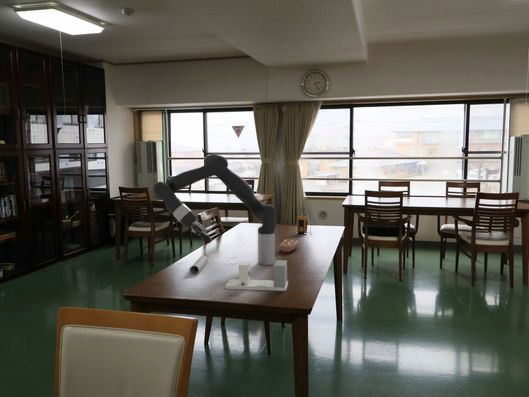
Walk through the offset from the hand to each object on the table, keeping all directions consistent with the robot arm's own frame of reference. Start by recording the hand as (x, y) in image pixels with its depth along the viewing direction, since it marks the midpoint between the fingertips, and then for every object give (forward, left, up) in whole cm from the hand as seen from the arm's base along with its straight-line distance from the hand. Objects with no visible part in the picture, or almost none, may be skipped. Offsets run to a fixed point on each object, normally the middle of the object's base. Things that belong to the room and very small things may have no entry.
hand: (210, 241), depth 208 cm
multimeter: (-132, +35, -21) cm, 138 cm away
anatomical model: (-77, +29, -21) cm, 85 cm away
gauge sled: (+1, +16, -19) cm, 25 cm away
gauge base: (0, +22, -21) cm, 30 cm away
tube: (-27, -15, -21) cm, 37 cm away
